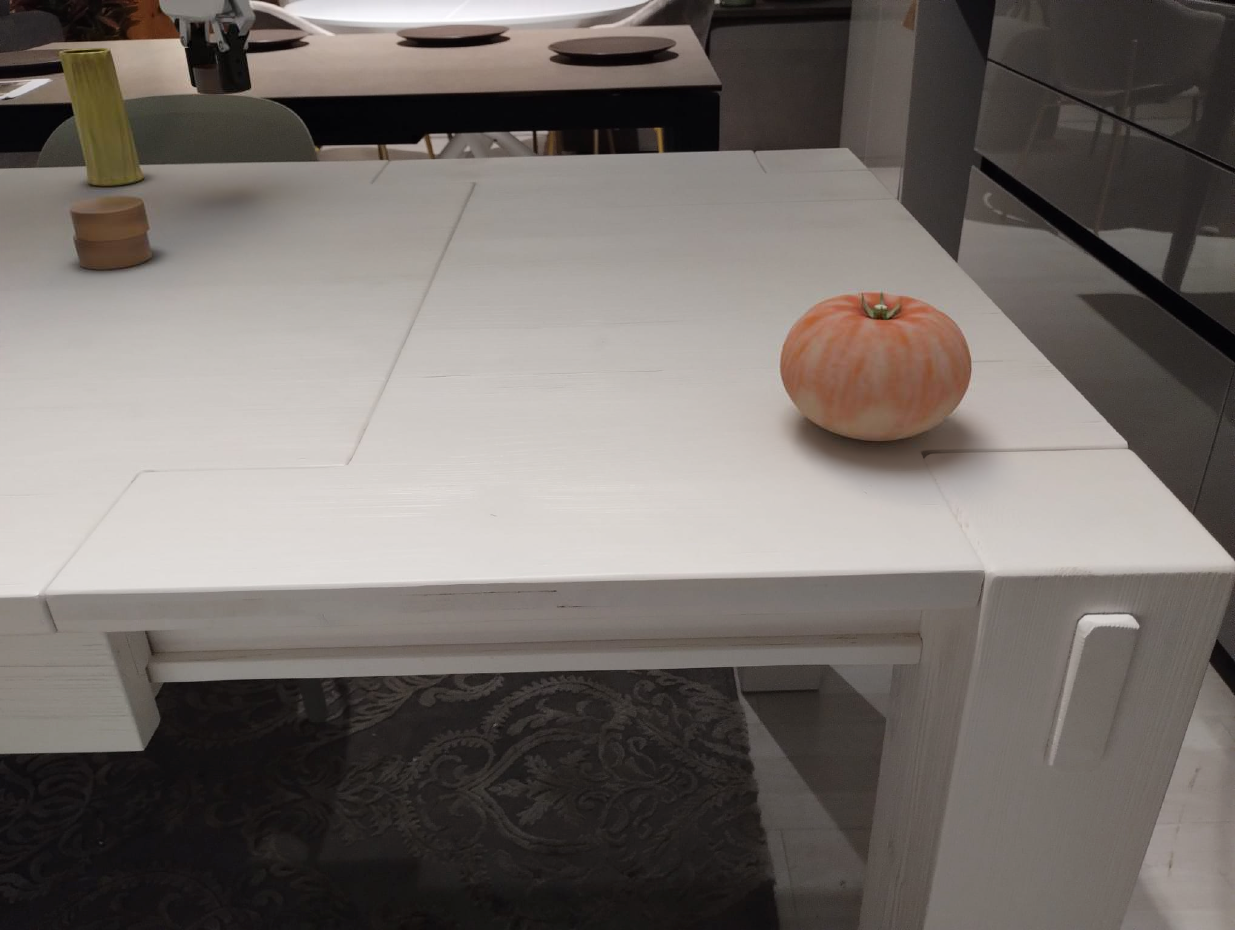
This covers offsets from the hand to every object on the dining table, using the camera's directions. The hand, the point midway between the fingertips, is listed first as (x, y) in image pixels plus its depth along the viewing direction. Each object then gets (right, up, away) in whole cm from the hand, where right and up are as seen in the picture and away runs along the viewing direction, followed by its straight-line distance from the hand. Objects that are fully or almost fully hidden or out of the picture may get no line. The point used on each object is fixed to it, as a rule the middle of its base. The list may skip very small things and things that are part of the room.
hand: (221, 86), depth 108 cm
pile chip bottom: (-3, -22, -17) cm, 28 cm away
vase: (-17, -7, +11) cm, 21 cm away
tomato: (+57, -38, -48) cm, 84 cm away
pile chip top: (-3, -20, -18) cm, 27 cm away
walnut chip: (0, 0, 0) cm, 0 cm away
